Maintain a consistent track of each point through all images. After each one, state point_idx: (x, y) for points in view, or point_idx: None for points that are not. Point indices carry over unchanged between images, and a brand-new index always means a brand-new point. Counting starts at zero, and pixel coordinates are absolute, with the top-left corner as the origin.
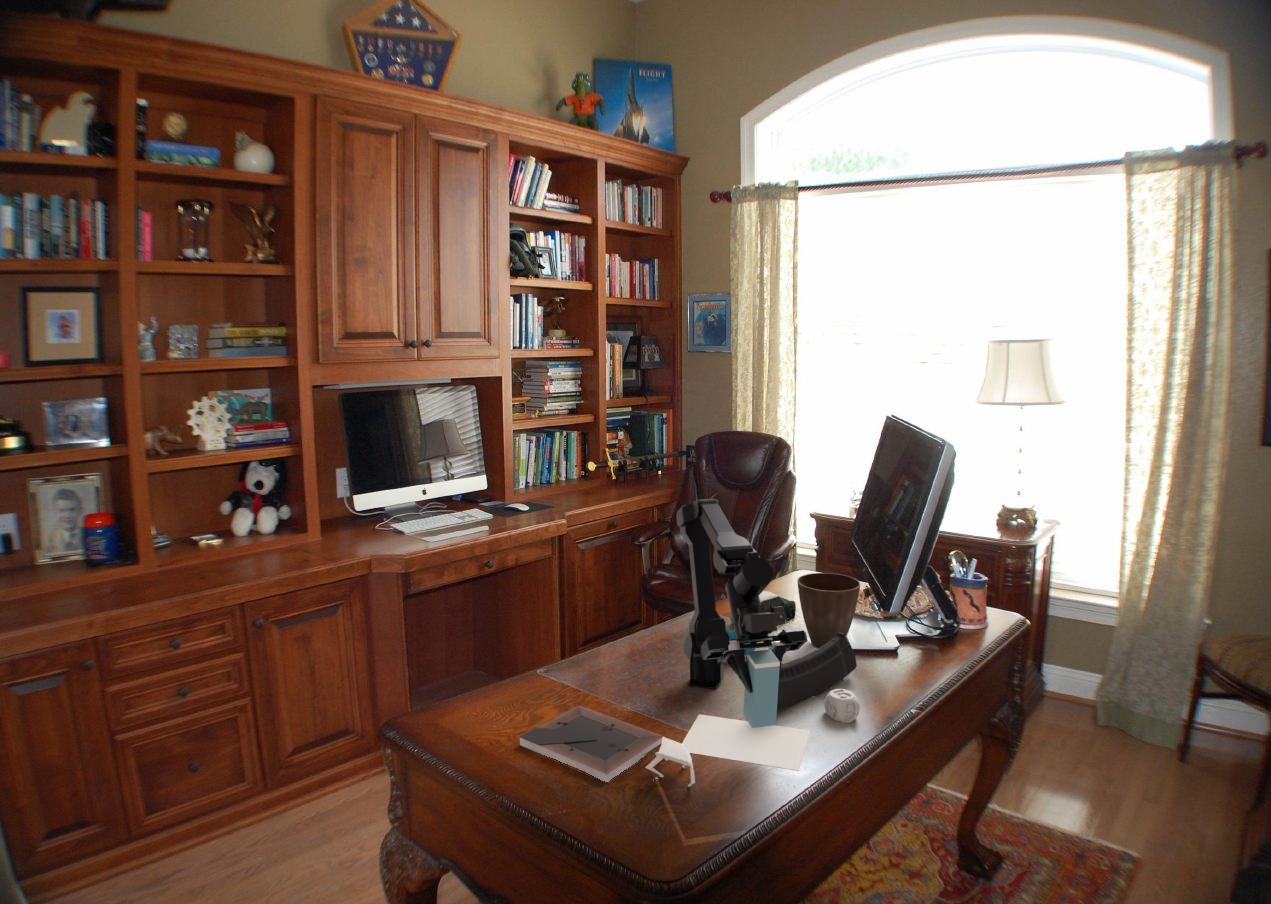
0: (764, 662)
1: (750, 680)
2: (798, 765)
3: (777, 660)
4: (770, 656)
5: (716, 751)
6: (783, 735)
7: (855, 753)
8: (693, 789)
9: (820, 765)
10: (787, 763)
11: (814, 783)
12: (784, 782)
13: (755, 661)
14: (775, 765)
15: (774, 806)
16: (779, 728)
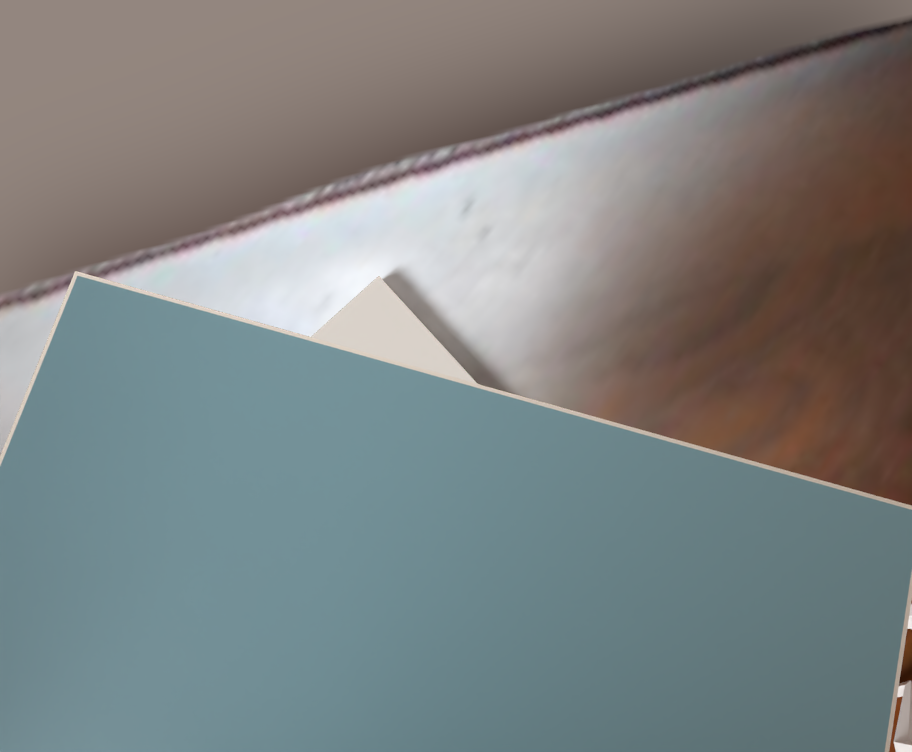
0: (566, 469)
1: None
2: (351, 312)
3: (78, 387)
4: (93, 739)
5: None
6: None
7: (27, 289)
8: (889, 412)
9: (245, 287)
10: (385, 353)
11: (373, 182)
12: (485, 254)
13: (822, 680)
14: (448, 367)
15: (641, 127)
16: None
